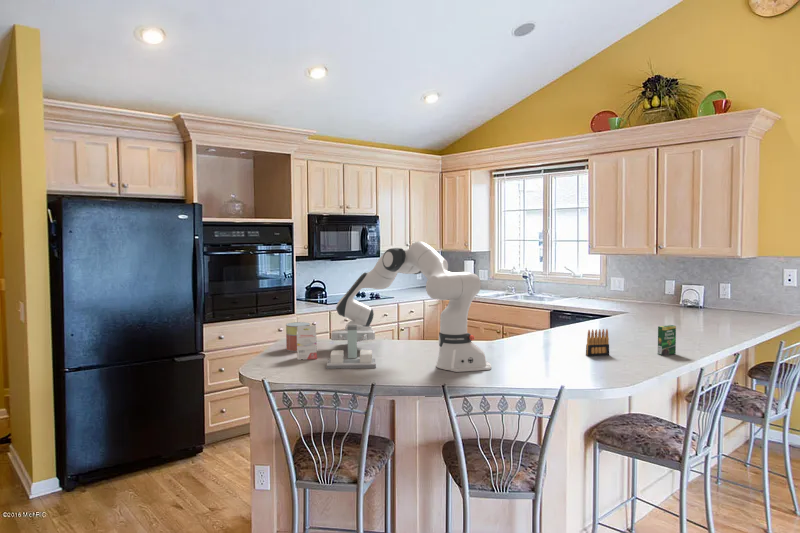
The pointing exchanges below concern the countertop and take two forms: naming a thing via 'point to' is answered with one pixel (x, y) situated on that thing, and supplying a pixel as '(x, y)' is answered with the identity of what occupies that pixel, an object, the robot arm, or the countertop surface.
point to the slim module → (352, 341)
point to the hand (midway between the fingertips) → (352, 338)
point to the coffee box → (666, 340)
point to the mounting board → (351, 360)
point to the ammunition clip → (597, 343)
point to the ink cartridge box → (306, 342)
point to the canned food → (293, 335)
